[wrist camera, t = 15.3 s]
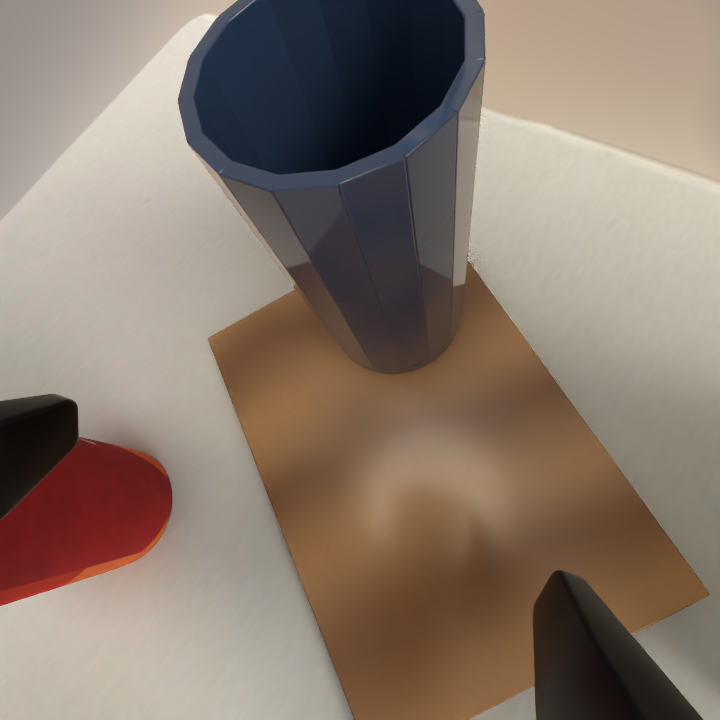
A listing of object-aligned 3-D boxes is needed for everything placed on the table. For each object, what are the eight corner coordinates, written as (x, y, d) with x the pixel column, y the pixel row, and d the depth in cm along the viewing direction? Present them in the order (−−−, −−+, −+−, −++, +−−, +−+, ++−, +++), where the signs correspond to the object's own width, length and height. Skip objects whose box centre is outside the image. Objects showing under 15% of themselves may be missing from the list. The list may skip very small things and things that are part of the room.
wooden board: (701, 591, 16) (711, 594, 15) (376, 760, 16) (373, 770, 15) (433, 218, 23) (433, 211, 22) (212, 341, 23) (207, 338, 23)
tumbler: (490, 310, 20) (561, 23, 8) (389, 402, 19) (295, 252, 7) (398, 231, 22) (341, -85, 10) (306, 312, 22) (130, 85, 10)
